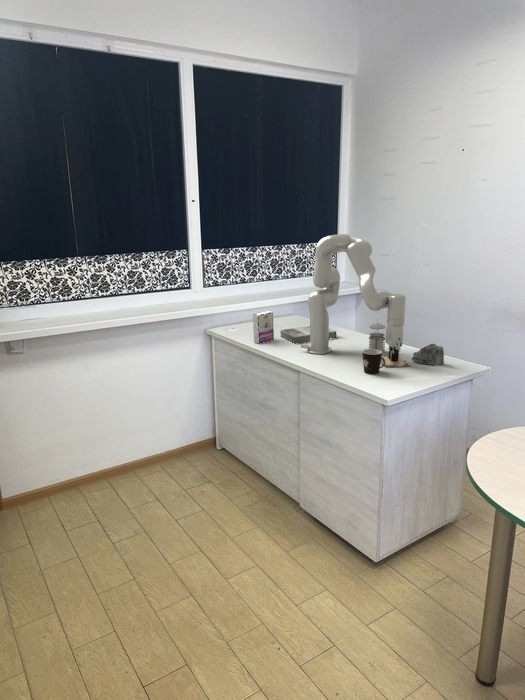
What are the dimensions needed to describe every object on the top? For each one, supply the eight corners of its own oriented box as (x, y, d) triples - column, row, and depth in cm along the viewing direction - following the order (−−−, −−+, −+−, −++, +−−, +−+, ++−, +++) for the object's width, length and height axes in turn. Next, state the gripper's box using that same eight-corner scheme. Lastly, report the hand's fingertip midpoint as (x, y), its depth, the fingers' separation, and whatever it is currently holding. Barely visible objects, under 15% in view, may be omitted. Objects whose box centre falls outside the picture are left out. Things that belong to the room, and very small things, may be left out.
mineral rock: (410, 363, 236) (411, 342, 234) (423, 358, 243) (424, 338, 240) (434, 369, 227) (436, 348, 224) (447, 364, 233) (449, 343, 230)
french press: (386, 350, 257) (388, 302, 250) (385, 357, 246) (388, 307, 239) (367, 350, 259) (368, 302, 253) (365, 356, 249) (367, 306, 242)
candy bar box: (268, 338, 286) (267, 310, 282) (274, 340, 283) (273, 311, 278) (253, 342, 279) (252, 313, 275) (259, 344, 276) (258, 315, 271)
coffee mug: (359, 370, 228) (359, 349, 225) (377, 369, 228) (378, 348, 226) (366, 379, 216) (367, 356, 214) (386, 378, 217) (387, 355, 214)
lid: (385, 367, 228) (385, 355, 227) (376, 359, 240) (377, 348, 238) (410, 366, 230) (411, 354, 228) (400, 358, 241) (401, 347, 239)
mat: (385, 369, 228) (385, 368, 228) (377, 361, 240) (377, 360, 240) (411, 367, 230) (411, 366, 229) (401, 360, 241) (401, 358, 241)
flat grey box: (336, 338, 284) (337, 331, 283) (294, 344, 274) (293, 337, 273) (321, 332, 300) (321, 324, 299) (279, 337, 291) (279, 330, 289)
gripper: (381, 317, 237) (379, 355, 242) (394, 325, 221) (391, 365, 226) (397, 317, 237) (394, 354, 242) (410, 325, 222) (407, 364, 227)
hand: (393, 359), depth 234 cm, fingers closed on lid, 2 cm apart
